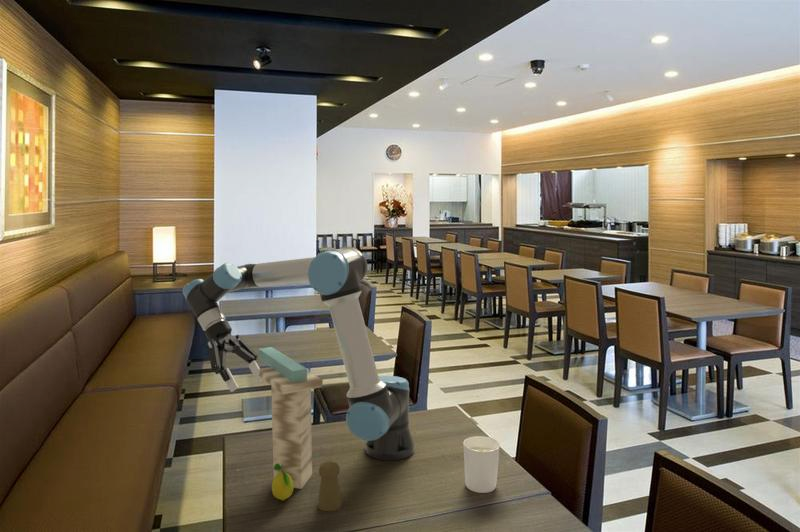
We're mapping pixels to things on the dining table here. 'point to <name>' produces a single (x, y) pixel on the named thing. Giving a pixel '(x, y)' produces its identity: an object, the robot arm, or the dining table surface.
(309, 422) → the stand
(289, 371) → the bar
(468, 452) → the candle holder
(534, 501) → the dining table surface
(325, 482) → the cork
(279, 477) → the lemon
